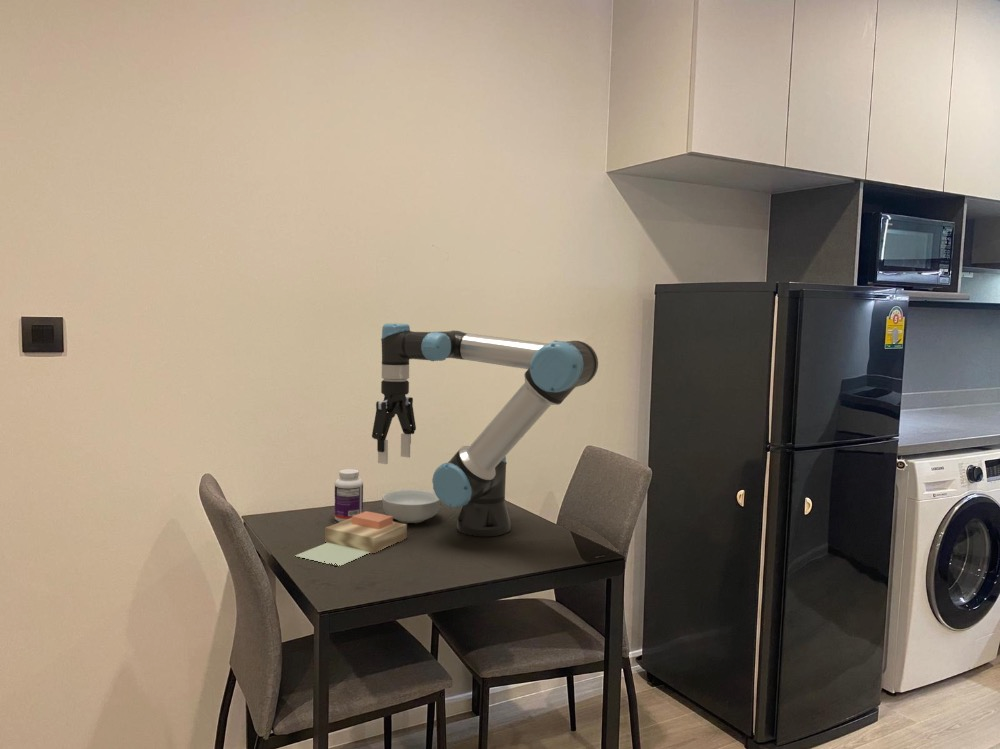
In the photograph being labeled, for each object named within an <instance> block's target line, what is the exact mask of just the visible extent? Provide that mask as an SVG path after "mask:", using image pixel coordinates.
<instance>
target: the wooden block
mask: <svg viewBox="0 0 1000 749" xmlns="http://www.w3.org/2000/svg"><path fill="white" fill-rule="evenodd" d="M407 529H408V523H402V522H399V521H393V524H391V525H388V526H386V527H383V528H381V529H375V528H370V527H365V526H360V525H355V524H352V518H350V519H347V520H345V521H342V522H337V523H335V524H332V525H329V526H326V527H325V528H324V543H325V542H326V543H327V542H329V543H333V544H338V545H342V546H346V547H351V548H355V549H360V550H364V551H368V552H371V553H370V554H372V553H375V554H377V553H379V552H381V551H383V550H382V549H384V548H386V547H388V546H390V547H392V546H394V545H396V544H395V543H397V542H399V543H401V542H403V541H405V540H407V539H406V538H407V535H408V532H407V531H408V530H407ZM404 539H405V540H404ZM402 540H403V541H402ZM400 541H401V542H400ZM393 544H394V545H393ZM397 544H398V543H397ZM391 545H392V546H391ZM388 548H389V547H388ZM386 549H387V548H386ZM380 550H381V551H380ZM384 550H385V549H384ZM378 551H379V552H378ZM376 552H377V553H376Z"/></svg>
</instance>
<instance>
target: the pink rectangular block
mask: <svg viewBox="0 0 1000 749" xmlns="http://www.w3.org/2000/svg"><path fill="white" fill-rule="evenodd" d="M393 522H394V518H393V516H389V515H387V514H384V513H378V512H373V511H367V510H365V511H363V512H362V513H360V514H357V515H354V516H352V524H355V525H360V526H365V527H370V528H375V529H381V528H383V527H386V526H388V525H391V524H393Z"/></svg>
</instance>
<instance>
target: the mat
mask: <svg viewBox="0 0 1000 749" xmlns="http://www.w3.org/2000/svg"><path fill="white" fill-rule="evenodd" d="M369 553H370V554H372V553H371V552H368V551H364V550H360V549H355V548H351V547H346V546H342V545H338V544H333V543H329V542H327V543H325V542H324V543H323V544H321V545H318V546H315V547H313V548H310V549H307V550H305V551H303V552H300V553H298V554H296V555H294V557H295V556H296V557H295V558H297V557H300V558H299V559H302V558H305V559H304V560H306V559H309V560H308V561H310V560H314V561H318V562H322V563H326V564H329V563H330V564H331V563H332V564H333V565H334V564H335V563H336V564H337V565H338V566H339V565H340V566H341V565H344V564H346V563H348V562H350V563H352V562H351V561H353V560H355V559H357V560H359V559H361V558H363V557H362V556H364V555H366V554H368V555H370V554H369ZM366 556H367V555H366ZM360 557H361V558H360ZM364 557H365V556H364ZM358 558H359V559H358ZM314 561H313V562H314ZM324 561H325V562H324ZM355 561H356V560H355ZM318 562H317V563H318ZM353 562H354V561H353ZM322 563H321V564H322ZM326 564H325V565H326ZM336 564H335V565H336ZM348 564H349V563H348ZM346 565H347V564H346ZM344 566H345V565H344Z"/></svg>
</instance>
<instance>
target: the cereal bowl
mask: <svg viewBox="0 0 1000 749" xmlns="http://www.w3.org/2000/svg"><path fill="white" fill-rule="evenodd" d="M381 502H382V508H383V511H384V512H385V515H389V516H393V520H394V519H395V520H397V522H398V523H403V524H408V523H415V524H420V523H422V522H425V520H428V519H430V518H433V517H434V516H435V515H437V513H439V510H440V507H441V504H442V502H441V501H440V500H439V499H438V497H437V496H436V494H435V492H434V491H429V490H425V489H416V488H415V489H414V488H413V489H411V488H410V489H409V488H407V489H398V490H393V491H389V492H386V493H384V494H383V495H382V499H381Z"/></svg>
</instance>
